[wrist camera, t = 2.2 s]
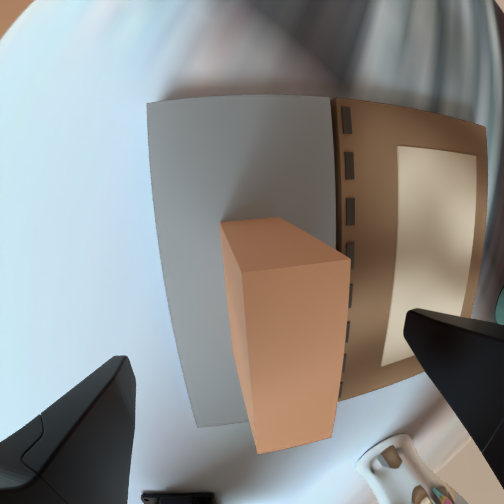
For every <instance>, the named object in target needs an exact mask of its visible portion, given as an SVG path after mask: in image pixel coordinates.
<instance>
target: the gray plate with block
mask: <svg viewBox="0 0 504 504" xmlns="http://www.w3.org/2000/svg"><path fill="white" fill-rule="evenodd" d="M147 128H148V146H149V161H150V173H151V185H152V195H153V204H154V213H155V222H156V230H157V237H158V245H159V252H160V259H161V265H162V271H163V278H164V284H165V289H166V295H167V301H168V306H169V311H170V317H171V322H172V327H173V332H174V336H175V341H176V346H177V350H178V355H179V359H180V363H181V368H182V372H183V376H184V380H185V384H186V388H187V392H188V396H189V400H190V403H191V407H192V411H193V414H194V418H195V421H196V425H197V428H198V427H208V426H217V425H226V424H233V423H240V422H247V421H249V423H250V427H251V430H252V434H253V438H254V442H255V446H256V450H257V454H262V453H267V452H273V451H278V450H283V449H287V448H292V447H296V446H300V445H304V444H308V443H312V442H316V441H320V440H324V439H327V438H331V436H332V431H333V426H334V420H335V414H336V408H337V402H338V395H339V388H340V381H341V373H342V365H343V357H344V348H345V338H346V328H347V316H348V303H349V287H350V266H351V259H350V258H349V257H347V256H345V255H344V254H342V253H340V252H339V251H337V250H336V197H335V167H334V147H333V132H332V118H331V106H330V97H321V96H304V95H226V96H209V97H196V98H185V99H176V100H167V101H159V102H152V103H147Z"/></svg>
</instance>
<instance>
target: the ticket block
mask: <svg viewBox="0 0 504 504" xmlns="http://www.w3.org/2000/svg"><path fill="white" fill-rule="evenodd" d="M330 106H331V118H332V132H333V147H334V167H335V197H336V250H337V251H339V252H340V253H342V254H344V255H345V256H347V257H349V258H350V259H351V266H350V287H349V303H348V316H347V328H346V338H345V348H344V357H343V365H342V373H341V381H340V388H339V395H338V402H339V401H342V400H346V399H349V398H353V397H356V396H359V395H362V394H365V393H368V392H371V391H374V390H377V389H380V388H383V387H386V386H389V385H392V384H394V383H397V382H400V381H402V380H405V379H407V378H410V377H413V376H415V375H417V374H420V373H422V372H425V371H424V369H423V368H422V366H421V365H420V363H419V361H418V360H417V358H416V356H415V355H414V353H413V351H412V350H411V348H410V347H409V345H408V343H407V342H406V340H405V338H404V336H403V329H404V323H405V317H406V313H407V312H408V311H409V310H411V309H415V308H421V309H425V310H430V311H435V312H440V313H445V314H450V315H455V316H460V317H465V318H470V317H471V313H472V309H473V304H474V300H475V295H476V290H477V285H478V280H479V274H480V268H481V261H482V254H483V247H484V238H485V228H486V215H487V195H488V158H487V138H486V127H484V126H481V125H478V124H475V123H471V122H468V121H464V120H460V119H457V118H453V117H449V116H445V115H441V114H436V113H432V112H427V111H423V110H418V109H413V108H408V107H402V106H396V105H390V104H384V103H377V102H370V101H362V100H354V99H344V98H334V99H332V100H330Z"/></svg>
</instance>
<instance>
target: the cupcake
mask: <svg viewBox="0 0 504 504" xmlns="http://www.w3.org/2000/svg"><path fill="white" fill-rule="evenodd" d="M495 318H496V321H497V323H498V324H501V325H504V287H503V289H502V291H501V294H500V296H499V299H498V302H497V306H496V311H495Z"/></svg>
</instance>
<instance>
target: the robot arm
mask: <svg viewBox="0 0 504 504" xmlns="http://www.w3.org/2000/svg"><path fill="white" fill-rule="evenodd" d="M403 336H404V338H405V340H406V342H407V343H408V345H409V347H410V348H411V350H412V351H413V353H414V355H415V356H416V358H417V360H418V361H419V363H420V365H421V366H422V368H423V369H424V371H425V372H426V374H427V375H428V376H429V378H430V379H431V380H432V382H433V383H434V384H435V386H436V387H437V389H438V390H439V391H440V393H441V394H442V395H443V397H444V398H445V400H446V401H447V402H448V404H449V405H450V407H451V408H452V410H453V411H454V412H455V414H456V415H457V417H458V418H459V420H460V421H461V423H462V424H463V425H464V427H465V428H466V430H467V431H468V433H469V434H470V436H471V437H472V439H473V440H474V442H475V443H476V445H477V446H478V448H479V450H480V451H481V452H482V455H483V456H484V458H485V459H486V461H487V462H488V464H489V466H490V467H491V469H492V471H493V472H494V474H495V476H496V477H497V479H498V480H499V482H500V484H501V485H502V487H503V489H504V325H501V324H497V323H491V322H486V321H481V320H476V319H471V318H465V317H460V316H455V315H450V314H445V313H440V312H435V311H430V310H425V309H421V308H415V309H411V310H409V311H408V312H407V313H406V317H405V323H404V329H403ZM135 401H136V380H135V376H134V373H133V370H132V367H131V364H130V361H129V358H128V357H127V356H125V355H123V356H113V357H112V358H111V359H109V360H108V361H107V362H106V363H104V364H103V365H102V366H100V367H99V368H98V369H97V370H95V371H94V372H93V373H92V374H90V375H89V376H88V377H86V378H85V379H84V380H83V381H81V382H80V383H79V384H77V385H76V386H75V387H74V388H72V389H71V390H70V391H69V392H67V393H66V394H65V395H63V396H62V397H61V398H60V399H58V400H57V401H56V402H55V403H53V404H52V405H51V406H49V407H48V408H47V409H46V410H44V411H43V412H42V413H41V415H38V416H37V417H35V418H34V419H33V420H32V421H30V422H29V423H28V424H26V425H25V426H24V427H22V428H21V429H20V430H18V431H17V432H15V433H14V434H12V435H11V436H9V437H8V438H6V439H5V440H3V441H1V442H0V504H127V499H128V486H129V475H130V465H131V455H132V447H133V439H134V431H135ZM141 500H142V502H143V503H144V504H219V503H218V501H217V498H216V496H215V494H214V493H197V494H171V495H156V494H143V495H141Z"/></svg>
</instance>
